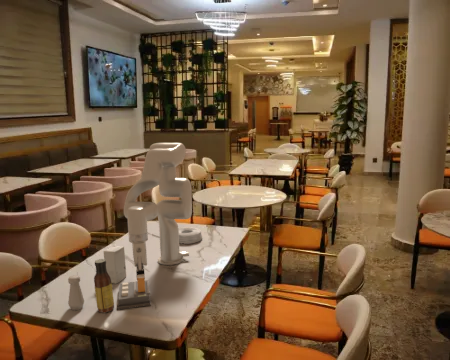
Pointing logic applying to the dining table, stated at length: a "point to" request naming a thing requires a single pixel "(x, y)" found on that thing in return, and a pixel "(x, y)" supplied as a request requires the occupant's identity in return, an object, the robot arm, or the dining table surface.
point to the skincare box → (115, 263)
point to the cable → (189, 235)
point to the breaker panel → (133, 293)
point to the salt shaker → (75, 293)
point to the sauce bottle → (103, 287)
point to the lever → (141, 282)
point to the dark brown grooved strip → (133, 305)
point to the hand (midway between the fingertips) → (140, 279)
